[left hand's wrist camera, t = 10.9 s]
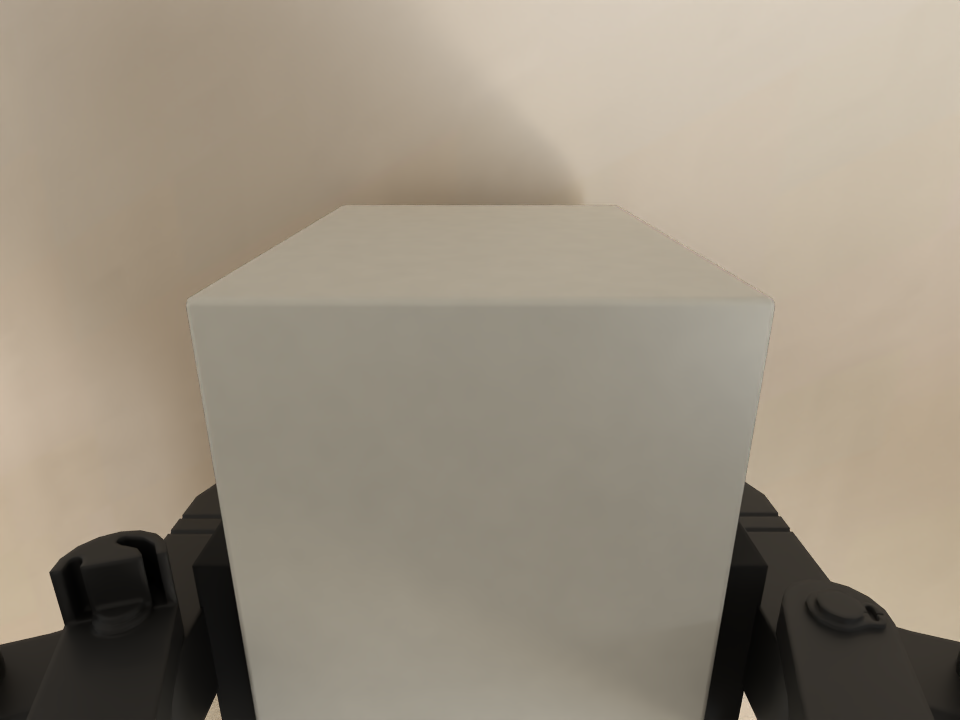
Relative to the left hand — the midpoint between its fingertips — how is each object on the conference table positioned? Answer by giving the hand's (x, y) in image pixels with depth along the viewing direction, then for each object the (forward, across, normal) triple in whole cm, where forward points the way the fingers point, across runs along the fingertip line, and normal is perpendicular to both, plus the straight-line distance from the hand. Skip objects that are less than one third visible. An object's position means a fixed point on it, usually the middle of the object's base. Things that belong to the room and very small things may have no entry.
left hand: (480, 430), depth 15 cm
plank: (0, 0, -21) cm, 21 cm away
